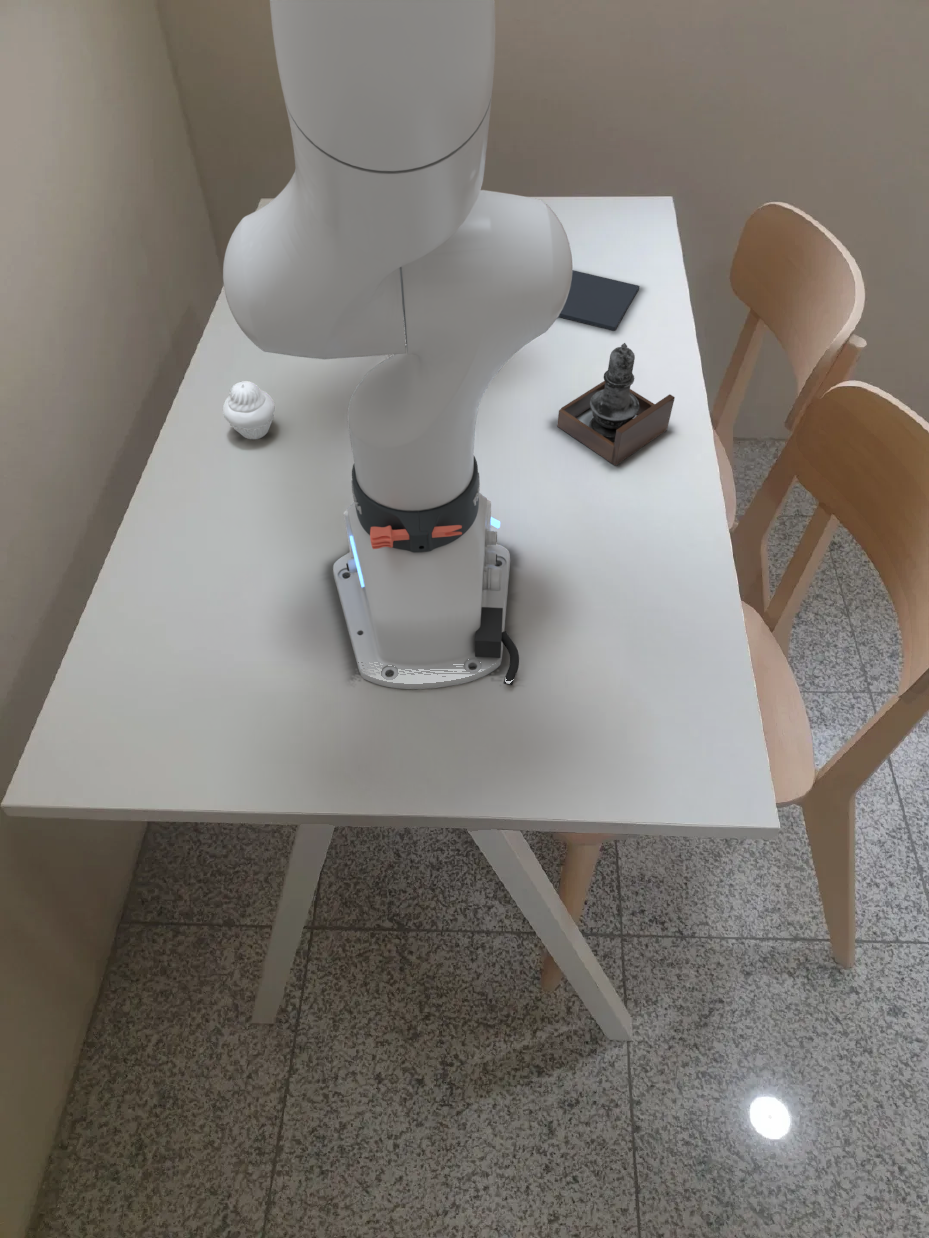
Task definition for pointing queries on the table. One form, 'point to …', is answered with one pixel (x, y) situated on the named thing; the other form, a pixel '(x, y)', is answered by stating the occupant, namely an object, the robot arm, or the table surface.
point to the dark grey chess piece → (615, 395)
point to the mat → (597, 300)
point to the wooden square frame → (628, 436)
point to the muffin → (249, 410)
